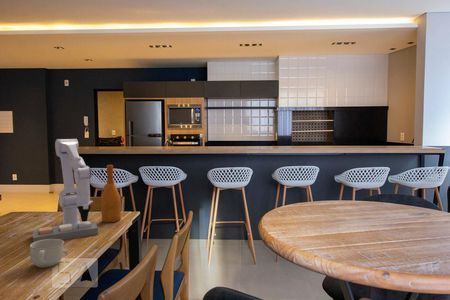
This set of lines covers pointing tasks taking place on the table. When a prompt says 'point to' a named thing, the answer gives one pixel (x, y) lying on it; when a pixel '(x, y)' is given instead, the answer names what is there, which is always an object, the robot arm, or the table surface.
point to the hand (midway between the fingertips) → (84, 221)
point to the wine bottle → (110, 199)
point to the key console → (66, 233)
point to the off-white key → (65, 227)
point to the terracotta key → (45, 230)
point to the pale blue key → (84, 224)
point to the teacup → (46, 252)
